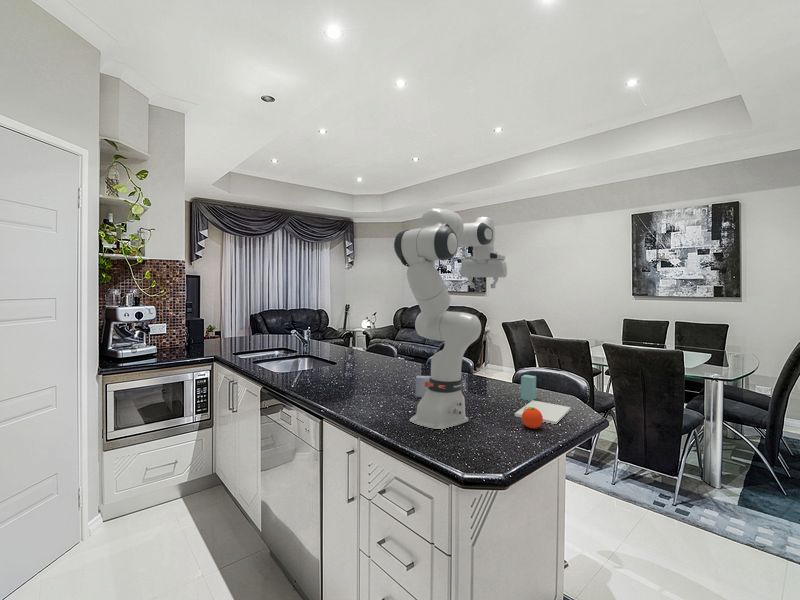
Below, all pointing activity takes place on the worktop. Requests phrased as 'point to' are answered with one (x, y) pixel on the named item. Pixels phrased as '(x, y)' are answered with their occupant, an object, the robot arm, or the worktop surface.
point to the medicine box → (421, 385)
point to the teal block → (528, 387)
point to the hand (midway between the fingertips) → (482, 288)
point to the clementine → (532, 417)
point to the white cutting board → (547, 411)
